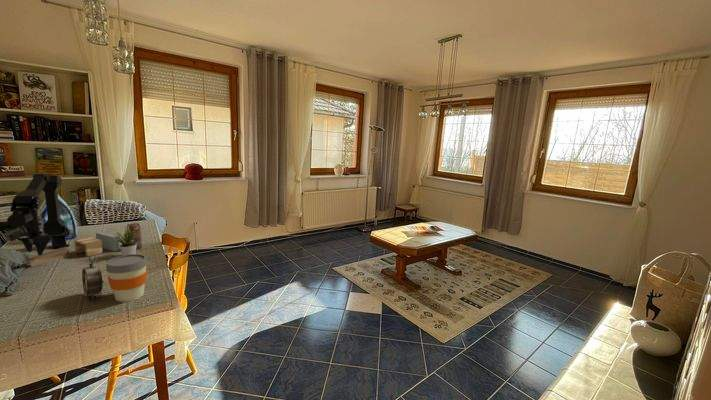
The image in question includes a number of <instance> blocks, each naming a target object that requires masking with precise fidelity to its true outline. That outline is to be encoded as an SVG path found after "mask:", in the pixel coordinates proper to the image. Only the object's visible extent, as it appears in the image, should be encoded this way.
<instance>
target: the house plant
mask: <svg viewBox="0 0 711 400" xmlns="http://www.w3.org/2000/svg"><path fill="white" fill-rule="evenodd" d="M137 228H138V227H137ZM137 228H135V229H134V231H133V232H132V231H131V233H130V229H129V227H128V229H127V227H125V226H123V229H124V233H123V235H122V234H121V233H120V232H119V231H118V230H117V231H116V230H113V229H112V231H113V232H114V233H115V235H116V236H118V240H116V241H119V243H121V244H119V250H120V252H121V256H123V255H130V254H137V250H136V246H137V243H134V242H135V241H136V240H137V239H138V238H137V237H135V236H134V235H136V234H137V233H138V232H137V231H138V230H139V229H138V230H137ZM141 229H142V230H143V227H142V228H141V227H140V232H143V231H142V230H141ZM136 230H137V231H136ZM135 231H136V232H137V233H136V232H135ZM135 233H136V234H135ZM134 237H135V238H137V239H136V240H135V241H134V239H135V238H134ZM140 237H141V239H142V238H143V236H142V235H141V236H140ZM133 238H134V239H133ZM116 241H115V242H116ZM133 241H134V242H133ZM132 242H133V243H132Z"/></svg>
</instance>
